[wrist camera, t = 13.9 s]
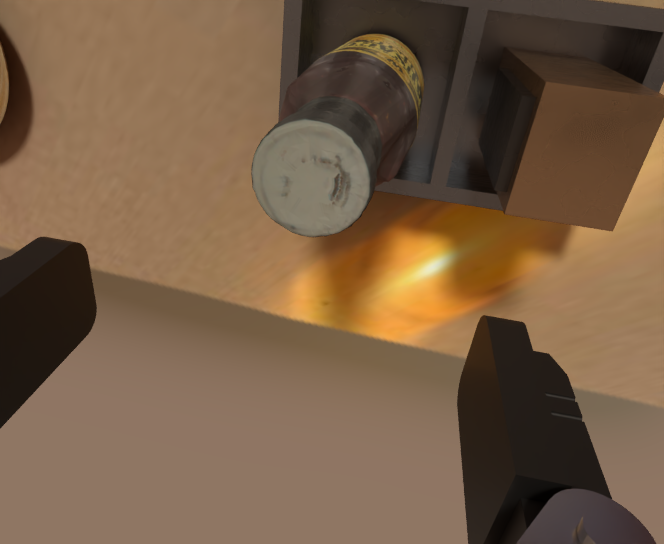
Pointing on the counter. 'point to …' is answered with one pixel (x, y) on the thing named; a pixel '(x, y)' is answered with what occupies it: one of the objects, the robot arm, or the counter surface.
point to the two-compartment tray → (511, 97)
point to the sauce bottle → (339, 135)
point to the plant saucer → (3, 83)
